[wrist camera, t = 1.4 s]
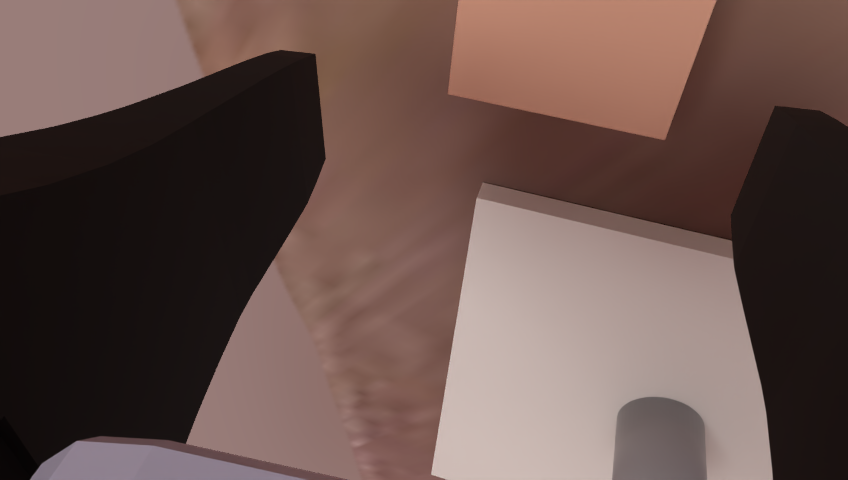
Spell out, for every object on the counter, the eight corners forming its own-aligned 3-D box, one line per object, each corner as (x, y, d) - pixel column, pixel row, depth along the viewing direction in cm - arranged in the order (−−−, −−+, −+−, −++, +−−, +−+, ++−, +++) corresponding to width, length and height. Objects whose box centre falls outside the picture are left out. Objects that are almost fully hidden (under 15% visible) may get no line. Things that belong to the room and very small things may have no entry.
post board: (1044, 313, 20) (1140, 466, 16) (789, 568, 32) (807, 695, 28) (483, 182, 23) (442, 282, 19) (436, 458, 35) (404, 557, 31)
